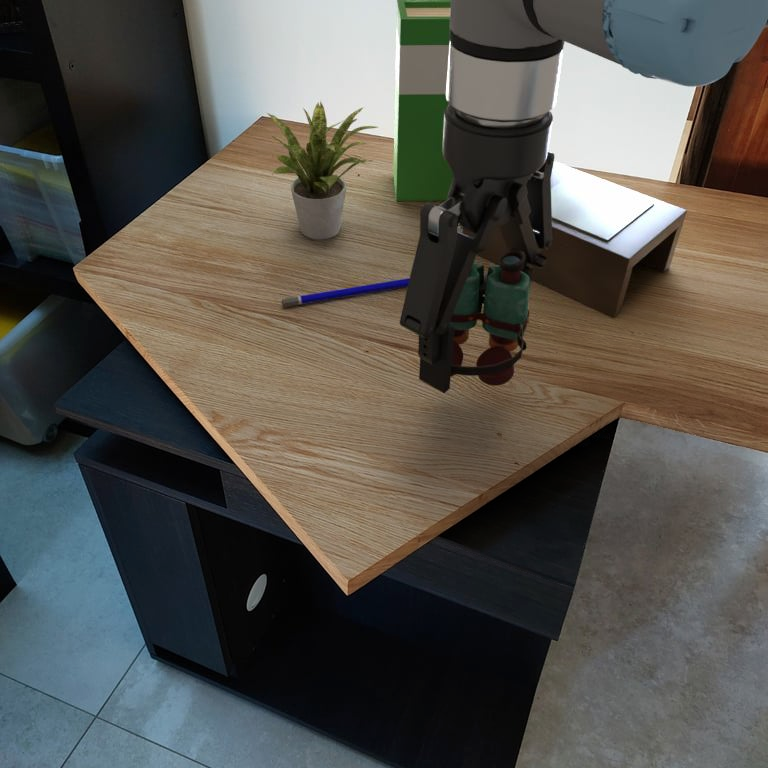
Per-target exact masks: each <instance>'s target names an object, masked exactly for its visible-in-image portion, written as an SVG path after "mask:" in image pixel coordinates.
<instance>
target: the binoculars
mask: <svg viewBox="0 0 768 768" xmlns="http://www.w3.org/2000/svg"><path fill="white" fill-rule="evenodd" d="M524 264H525V253H524V252H522V251H519V250H514V251H509V252H507V253H505V254H503V255H502V256H501V258H500V261H499V264H498V265H497V264H495V265H494V264H489V265H488V268H487V273H486V274H485V264H484V263H480V262H474V263H473V265H472V268H471V270H470V273H469V275H468V278H467V280H466V283H465V285H464V287H463V290H462V292H461V295H460V297H459V300H458V302H457V305H456V307H455V310H454V312H453V315H452V317H451V320H450V322H449V325H451V326H453V327H455V330H454V343H453V355H452V367H451V378H452V377H454V376H456V375H457V376H469V377H470V376H471V377H472V376H473V377H474V376H477V377H478V379H479V380H480V381H481V383H483V384H485V385H488V386H493V387H494V386H495V387H497V386H502V385H504V384H507V383H508V382H509V381H510V380H512V379H513V377H514V374H515V365H516V363H517V362H518V361H519V360H520V359H521V358H522V355H523V352H525V351H526V350H527V348H528V346H527V341H525V339H524V336H525V334H526V330H527V327H528V324H529V322H530V310H529V302H530V301H529V300H530V291H529V287H530V288H531V285H530V280H529V276H528V275H527V274H526V273H524V272H522V271H521V270H523V268H524ZM478 321H481V326H482V328H483V330H484V331H485V332H486V333H488V334H489V336H488V345H489V348H487V349H485V350H484V351H483V352H481V354H479V356H478V358H477V360H476V365H475V366H467V365H466V366H465V365H463V361H464V352H463V349H462V347H461V345H463V344H464V343H466V342H467V341H468V340H469V339H470V330H471V329H473V328H475V327H476V326H477V324H478ZM518 348H519V349H520V350H518V352H517V353H515V354H514V355H512V353H511V352H515V350H517V349H518Z"/></svg>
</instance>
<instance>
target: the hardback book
mask: <svg viewBox="0 0 768 768" xmlns="http://www.w3.org/2000/svg"><path fill="white" fill-rule="evenodd" d="M450 10H451V0H396V27H395V28H396V31H395V33H396V34H395V79H394V81H395V83H394V122H393V123H394V126H393V128H394V130H393V170H392V171H393V174H392V176H393V185H394V194H395V195H394V196H395V201H396V202H432V201H433V202H436V201H437V202H438V201H443V202H445V201H446V200H448V193H449V191H450V188H451V185H452V181H453V173H452V170H451V168H450V167H449V165H448V163H447V162H446V160H445V158H444V156H443V152H442V147H443V130H444V112H445V109H446V107H447V106H448V105H449V104H450V103H449V102H448V101H447V97H446V89H447V75H448V60H449V46H450V39H449V34H450Z"/></svg>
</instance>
